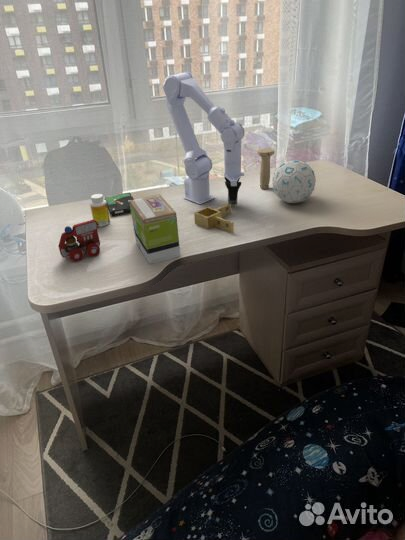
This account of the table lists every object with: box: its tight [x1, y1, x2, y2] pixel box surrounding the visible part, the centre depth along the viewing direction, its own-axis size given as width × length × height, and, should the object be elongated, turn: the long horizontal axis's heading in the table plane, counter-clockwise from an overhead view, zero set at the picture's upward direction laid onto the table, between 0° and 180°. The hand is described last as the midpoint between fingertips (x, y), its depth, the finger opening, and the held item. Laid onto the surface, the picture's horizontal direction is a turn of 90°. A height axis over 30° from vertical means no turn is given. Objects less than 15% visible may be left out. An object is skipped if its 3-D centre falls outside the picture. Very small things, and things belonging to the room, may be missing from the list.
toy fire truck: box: [57, 219, 101, 263], centre depth 121 cm, size 7×12×10 cm, turn 120°
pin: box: [227, 191, 239, 206], centre depth 147 cm, size 4×4×7 cm
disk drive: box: [104, 192, 135, 218], centre depth 153 cm, size 10×3×15 cm
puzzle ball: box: [272, 159, 317, 204], centre depth 147 cm, size 15×15×15 cm
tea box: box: [129, 193, 181, 265], centre depth 121 cm, size 15×10×15 cm, turn 23°
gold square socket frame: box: [193, 202, 235, 234], centre depth 137 cm, size 14×14×4 cm
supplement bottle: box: [89, 193, 111, 228], centre depth 139 cm, size 6×6×10 cm
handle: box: [257, 147, 275, 190], centre depth 159 cm, size 5×6×15 cm
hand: (232, 198), depth 148 cm, fingers closed on pin, 4 cm apart
